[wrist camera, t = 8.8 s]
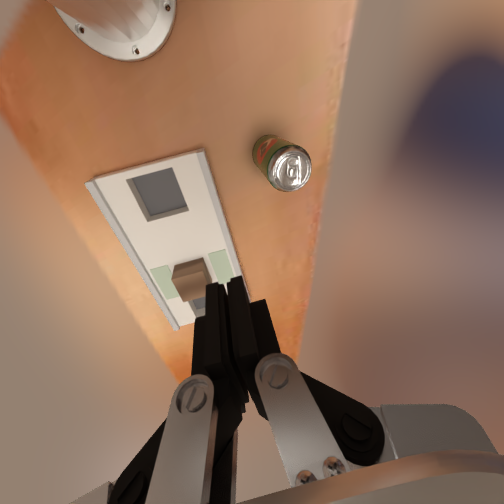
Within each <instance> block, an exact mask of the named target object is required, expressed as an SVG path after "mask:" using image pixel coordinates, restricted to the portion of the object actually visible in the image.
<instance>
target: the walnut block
mask: <svg viewBox="0 0 504 504" xmlns="http://www.w3.org/2000/svg"><path fill="white" fill-rule="evenodd" d="M171 280H172V282H173V284H174V286H175V288H176V290H177V291H178V293H179V295H180V297H181V299H182V301H183V302H187V301H190V300H194V299H197V298H201V297H205V293H206V285H207V284H211V283H212V278H211V275H210V273H209V271H208V268H207V266H206V263H205V261H204V258H203V257H202V258H199V259H195V260H191V261H188V262H184V263H181V264H177V265H174V269H173V274H172V278H171Z"/></svg>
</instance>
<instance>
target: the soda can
mask: <svg viewBox="0 0 504 504" xmlns="http://www.w3.org/2000/svg"><path fill="white" fill-rule="evenodd" d="M253 160H254V162H255V164H256V166H257V167H258V168H259V169H260V171H261V172H262V173H263V174H264V176H265V177H266V178H267V180H268V181H269V182H270V183H271V185H272V186H273V187H274V188H276V189H277V190H279V191H283V192H291V191H295V190H298V189H300V188H301V187H303V186H304V185H305V184H306V183H307V181H308V179H309V178H310V175H311V159H310V157H309V154H308V153H307V152H306V151H305V149H303V148H302V147H300V146H298V145H295V144H293V143H291V142H289V141H286V140H284V139H282V138H280V137H278V136H275V135H266V136H264V137H262V138H260V139H259V140H258V141H257V143H256V144H255V146H254V149H253Z"/></svg>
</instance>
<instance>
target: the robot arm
mask: <svg viewBox="0 0 504 504" xmlns="http://www.w3.org/2000/svg"><path fill="white" fill-rule="evenodd" d="M46 1H47V2H49V3H50V4H52V5H53V6H54V8H55V9H56V11H57V13H58V14H59V16H60V17H61V18H62V20H63V21H64V22H65V24H66V25H67V26H68V27H69V29H70V30H71V31H72V32H73V33H74V34H75V35H76V36H77V37H78V38H79V39H80V40H81V41H83V42H84V43H85V44H86V45H88V46H89V47H90V48H92V49H93V50H95V51H97V52H99V53H100V54H102V55H104V56H107V57H109V58H111V59H115V60H119V61H123V62H136V61H141V60H145V59H147V58H149V57H151V56H153V55H154V54H155V53H156V52H158V51H159V50H160V49H161V48H162V47H163V45H164V44H165V42H166V41H167V40H168V37H169V35H170V33H171V31H172V28H173V24H174V20H175V16H176V3H177V0H46ZM167 6H169V7H170V8H171V9H170V11H167V10H166V7H167ZM82 28H84V33H82V32H81V29H82ZM137 49H139V51H140V53H139V54H136V50H137ZM227 294H228V295H227ZM248 391H249V393H250V395H251V398H252V400H253V401H254V403H255V405H256V408H257V410H258V413H259V414H260V415H261V416H262V417H264V418H265V419H266V420H268V421H269V423H270V426H271V428H272V432H273V435H274V438H275V441H276V444H277V447H278V450H279V453H280V456H281V459H282V462H283V464H284V468H285V471H286V474H287V477H288V480H289V483H290V485H291V488H289V489H286V490H282V491H279V492H275V493H272V494H268V495H265V496H261V497H258V498H254V499H251V500H247V501H244V502H240V503H237V504H504V455H501V454H498V452H497V451H496V449H495V447H494V446H493V444H492V443H491V441H490V439H489V437H488V436H487V434H486V432H485V431H484V429H483V428H482V426H481V425H480V424H479V423H478V421H477V420H476V419H475V418H474V417H473V416H471V415H470V414H469V413H467V412H466V411H465V410H463V409H460V408H458V407H456V406H453V405H447V404H395V405H394V404H387V405H380V407H367V406H365V405H364V404H362V403H360V402H358V401H356V400H354V399H352V398H350V397H348V396H346V395H345V394H343V393H341V392H339V391H337V390H335V389H333V388H331V387H329V386H327V385H325V384H323V383H322V382H320V381H318V380H316V379H314V378H312V377H310V376H308V375H306V374H304V373H302V372H300V371H299V370H298V367H297V365H296V364H295V362H294V361H293V359H292V358H290V357H289V356H287V355H285V354H282V353H281V351H280V348H279V344H278V341H277V337H276V334H275V330H274V327H273V324H272V320H271V317H270V313H269V310H268V307H267V303H266V300H265V299H263V300H259V301H255V302H252V303H250V300H249V297H248V293H247V290H246V287H245V284H244V280H243V277H242V275H240V276H237V277H233V278H230V282H227V292H226V289H225V286H224V284H219V283H218V282H214V283H211V284H207V285H206V293H205V315H204V316H200V317H197V318H196V319H195V325H194V340H193V356H192V371H191V376H190V377H188V378H187V379H185V380H184V381H183V382H182V383H181V384H179V386H178V387H177V389H176V390H175V392H174V395H173V397H172V400H171V405H170V408H169V412H168V416H167V418H166V420H165V421H164V422H163V423H162V424H161V426H160V427H159V428H158V429H157V430H156V432H155V433H154V434H153V435H152V437H151V438H150V439H149V440H148V442H147V443H146V444H145V445H144V446H143V448H142V449H141V450H140V451H139V453H138V454H137V455H136V456H135V458H134V459H133V460H132V461H131V462H130V464H129V465H128V466H127V467H126V469H125V470H124V471H123V472H122V474H121V475H120V477H119V478H118V479H117V480H116V481H114V482H112V483H111V482H109V481H108V482H107V483H105V484H103V485H101V486H99V487H98V488H96V489H94V490H92V491H91V492H89V493H87V494H85V495H84V496H82V497H80V498H78V499H77V500H75V501H73V502H71V503H69V504H235V502H236V500H235V499H236V474H237V444H238V430H237V427H238V426H239V424H240V422H241V421H242V413H245V412H246V410H245V403H248V402H249V395H248Z"/></svg>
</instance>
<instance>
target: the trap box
mask: <svg viewBox="0 0 504 504" xmlns="http://www.w3.org/2000/svg"><path fill="white" fill-rule="evenodd" d="M84 184H85V185H86V187H87V189H88V190H89V192H90V194H91V195H92V197H93V198H94V200H95V202H96V203H97V205H98V207H99V208H100V210H101V212H102V213H103V215H104V216H105V218H106V220H107V221H108V223H109V225H110V226H111V228H112V230H113V231H114V233H115V234H116V236H117V238H118V239H119V241H120V243H121V244H122V246H123V248H124V249H125V251H126V252H127V254H128V256H129V257H130V259H131V261H132V262H133V264H134V266H135V267H136V269H137V270H138V272H139V274H140V275H141V277H142V279H143V280H144V282H145V283H146V285H147V287H148V288H149V290H150V292H151V293H152V295H153V297H154V298H155V300H156V301H157V303H158V305H159V306H160V308H161V310H162V311H163V313H164V315H165V316H166V318H167V319H168V321H169V323H170V324H171V326H172V328H173V329H174V331H176V330H179V329H180V326H183V325H187V324H190V323H194V322H195V319H196V318H197V317H200V316H204V315H205V297H201V298H197V299H194V300H190V301H187V302H183V301H182V299H181V297H180V295H179V293H178V291H177V290H176V288H175V286H174V284H173V282H172V280H171V278H172V274H173V269H174V265H177V264H181V263H184V262H188V261H191V260H195V259H199V258H202V257H203V258H204V261H205V263H206V266H207V268H208V271H209V273H210V275H211V278H212V283H214V282H218V283H219V284H224V286H225V289H226V292H227V282H230V278H233V277H237V276H240V275H242V277H243V280H244V284H245V287H246V290H247V293H248V297H249V300H250V303H251V299H250V295H249V292H248V289H247V285H246V282H245V279H244V276H243V272H242V269H241V266H240V263H239V259H238V256H237V253H236V250H235V247H234V243H233V240H232V237H231V234H230V230H229V227H228V224H227V221H226V217H225V214H224V211H223V208H222V204H221V201H220V198H219V195H218V191H217V188H216V185H215V182H214V178H213V175H212V172H211V169H210V165H209V162H208V159H207V156H206V152H205V149H204V148H201V149H197V150H193V151H190V152H186V153H182V154H178V155H175V156H171V157H167V158H163V159H160V160H156V161H152V162H148V163H145V164H141V165H137V166H133V167H130V168H126V169H122V170H118V171H115V172H111V173H107V174H103V175H100V176H96V177H93V178H92V179H90V180H89V181H87V182H85V183H84ZM227 295H228V294H227Z"/></svg>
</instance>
